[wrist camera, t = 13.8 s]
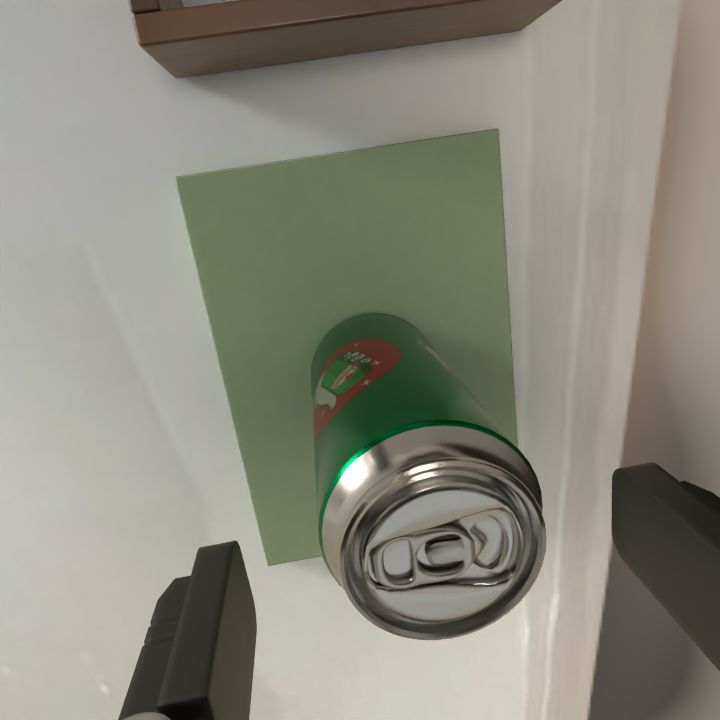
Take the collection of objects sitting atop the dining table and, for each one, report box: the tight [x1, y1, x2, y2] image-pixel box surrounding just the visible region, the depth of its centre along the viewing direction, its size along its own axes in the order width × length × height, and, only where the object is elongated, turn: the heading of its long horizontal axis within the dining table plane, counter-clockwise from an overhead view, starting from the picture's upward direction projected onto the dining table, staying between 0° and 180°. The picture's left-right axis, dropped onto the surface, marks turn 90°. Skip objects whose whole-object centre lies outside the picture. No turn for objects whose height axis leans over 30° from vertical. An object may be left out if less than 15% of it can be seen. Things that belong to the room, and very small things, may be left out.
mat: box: [175, 129, 518, 566], centre depth 23 cm, size 12×17×1 cm
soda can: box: [310, 313, 546, 640], centre depth 17 cm, size 5×5×12 cm
